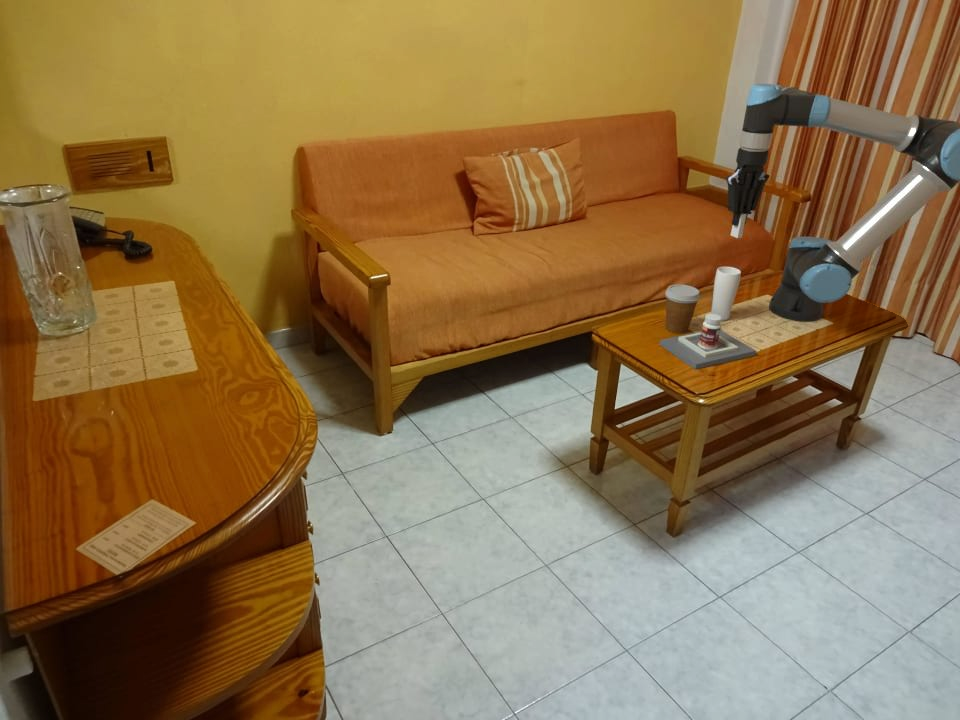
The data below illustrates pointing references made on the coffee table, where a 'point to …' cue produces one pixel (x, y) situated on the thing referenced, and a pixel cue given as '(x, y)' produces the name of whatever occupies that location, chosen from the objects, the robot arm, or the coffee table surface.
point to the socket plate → (706, 350)
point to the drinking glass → (725, 291)
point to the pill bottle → (710, 331)
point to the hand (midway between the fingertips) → (736, 236)
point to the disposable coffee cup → (680, 307)
